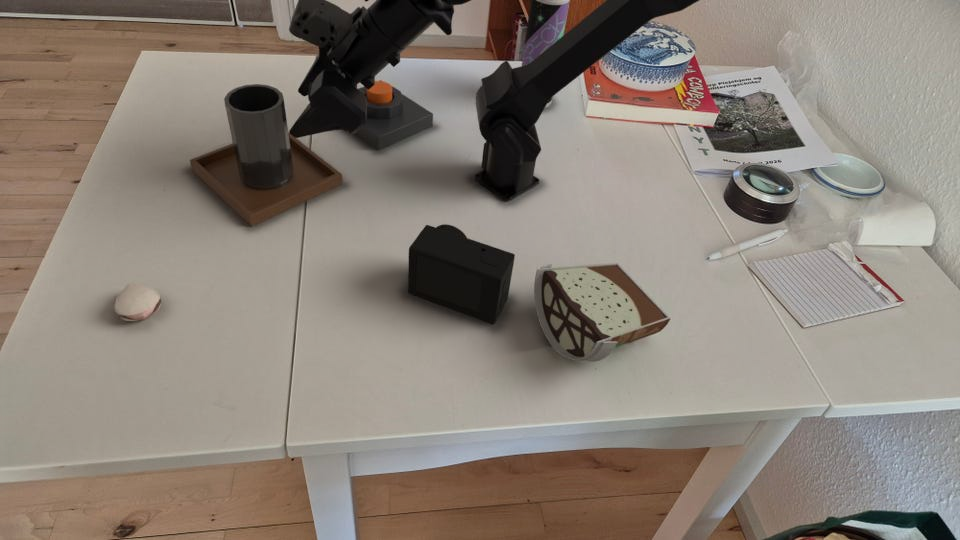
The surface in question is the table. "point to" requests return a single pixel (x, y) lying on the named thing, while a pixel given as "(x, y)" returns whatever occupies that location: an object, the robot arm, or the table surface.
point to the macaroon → (137, 302)
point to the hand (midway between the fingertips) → (296, 113)
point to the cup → (260, 136)
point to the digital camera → (459, 272)
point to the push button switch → (393, 120)
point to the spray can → (544, 27)
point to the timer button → (380, 93)
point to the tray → (263, 204)
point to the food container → (593, 309)
